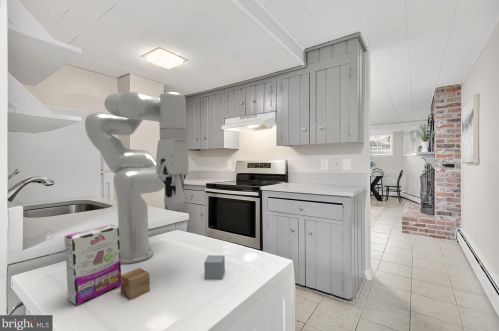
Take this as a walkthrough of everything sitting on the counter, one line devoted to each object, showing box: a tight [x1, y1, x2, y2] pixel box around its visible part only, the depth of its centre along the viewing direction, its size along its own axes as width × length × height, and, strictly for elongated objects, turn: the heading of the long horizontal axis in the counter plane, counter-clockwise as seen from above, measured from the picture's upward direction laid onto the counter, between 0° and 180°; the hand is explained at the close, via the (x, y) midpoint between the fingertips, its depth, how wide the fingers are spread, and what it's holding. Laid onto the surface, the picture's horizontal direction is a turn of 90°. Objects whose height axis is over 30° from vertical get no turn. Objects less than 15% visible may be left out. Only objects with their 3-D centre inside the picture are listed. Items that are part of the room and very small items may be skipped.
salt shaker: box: [163, 174, 186, 211], centre depth 71 cm, size 6×6×13 cm
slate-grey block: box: [203, 254, 226, 281], centre depth 71 cm, size 5×5×5 cm
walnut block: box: [120, 267, 151, 301], centre depth 62 cm, size 5×5×5 cm
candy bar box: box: [64, 224, 122, 306], centre depth 62 cm, size 11×5×16 cm, turn 148°
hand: (174, 197), depth 71 cm, fingers closed on salt shaker, 3 cm apart
